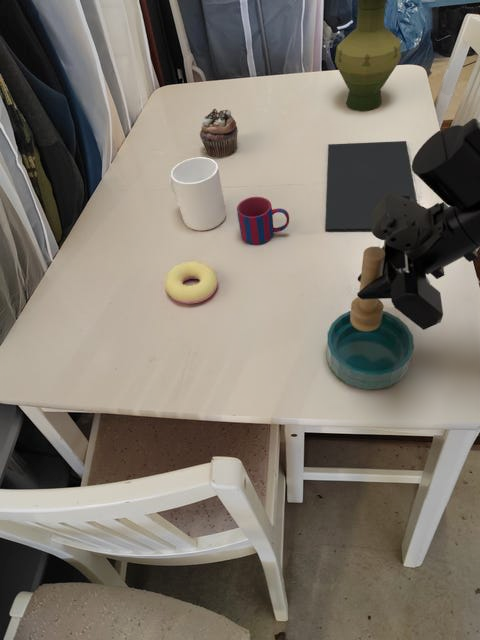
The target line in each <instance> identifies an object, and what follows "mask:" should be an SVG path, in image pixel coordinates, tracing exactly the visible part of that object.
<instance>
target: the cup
mask: <svg viewBox="0 0 480 640" xmlns="http://www.w3.org/2000/svg"><path fill="white" fill-rule="evenodd" d="M272 206H273V205H272V203H271V201H270V199H268V198H265V197H264V196H263V197H262V196H251V197H247V198H245V199H243V200H241V201H240V202H239V203H238V204H237V206H236V213H237V219H238V225H239V232H240V238H241V240H242V241H243V242H244V243H245V244H247V245H250V246H260V245H264V244H267V243H268V242H269V241H271V240H272V239H273V237H274V236H275V235H274V234H275V233H279V232H282V231H284V230H285V229H287V227H288V226H289V223H290V215H289V212H288V211H287V210H286V209H284V208H281V207H280V208H273V207H272ZM278 213H281V214H284V216H285V219H286V222H285V223H284V224H283V225H281V226H279V227H274V216H273V215H275V214H278Z"/></svg>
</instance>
